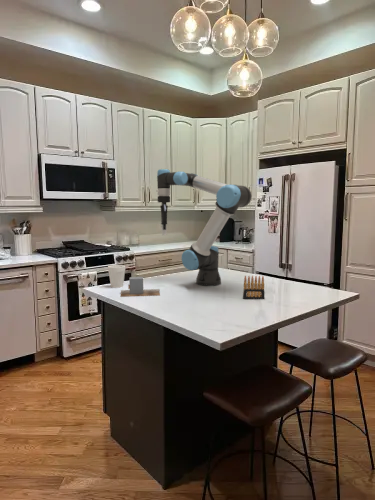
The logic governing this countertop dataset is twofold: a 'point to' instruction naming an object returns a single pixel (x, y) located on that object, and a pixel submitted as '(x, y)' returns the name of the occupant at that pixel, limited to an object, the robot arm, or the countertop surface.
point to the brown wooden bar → (143, 291)
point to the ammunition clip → (253, 288)
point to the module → (136, 285)
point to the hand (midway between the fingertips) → (164, 235)
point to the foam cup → (116, 275)
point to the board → (140, 294)
